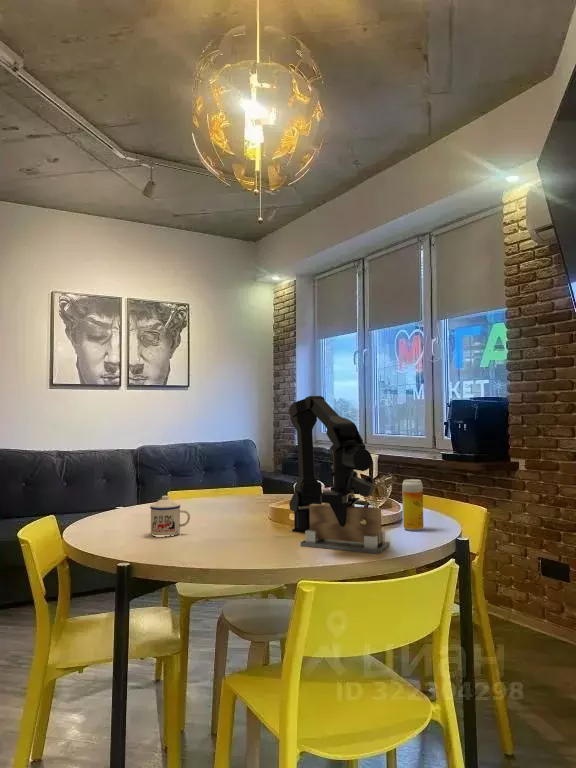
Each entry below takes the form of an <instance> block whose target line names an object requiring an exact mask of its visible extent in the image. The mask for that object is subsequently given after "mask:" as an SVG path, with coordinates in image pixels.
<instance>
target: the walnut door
mask: <svg viewBox="0 0 576 768" xmlns="http://www.w3.org/2000/svg"><path fill="white" fill-rule="evenodd" d="M309 511H310V530H318V538H319V539H329V540H340V541H350V542H360V543H364V536H365V535H378V544H380V543H382V532H381V531H382V508H381V507H366V506H354V505H353V506H348V507H347V511H346V520H345V526H344V527H342V526H340V524H339V522H338V520H337V518H336V516H335V514H334V512H333V510H332V508H331V506H330V504H325V503H322V504H311V505H309Z"/></svg>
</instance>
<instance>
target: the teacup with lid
mask: <svg viewBox="0 0 576 768" xmlns="http://www.w3.org/2000/svg"><path fill="white" fill-rule="evenodd" d="M180 508H181V504H180V503H179V502H177V501H174V500H173V499H170V497H169V496H168V495H162V496H161V499H159V500H157V501H156V502H154V503H151V504H150V507H149V509H150V535H151V534H153V535H177V534H179V533H181V528H182V527H186V526H187V525H188V524H189V523H190V520H191V514H190V512H189V511H188V510H186V509H180ZM181 513H184V514H186V515H187V520H186V521H185V522H184V523H181ZM179 535H180V534H179ZM177 536H178V535H177Z"/></svg>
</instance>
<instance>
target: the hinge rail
mask: <svg viewBox="0 0 576 768" xmlns="http://www.w3.org/2000/svg"><path fill="white" fill-rule="evenodd" d="M381 532H382V543H380V544H378V535H365V536H364V543H360V542H350V541H340V540H329V539H319V538H318V530H309V529H308V530H306V531H305V532H304V533H305V536H304V537H305V540H302V541H300V546H301V547H308V548H318V549H324V550H325V549H326V550H327V549H328V550H338V551H347V552H357V553H368V554H380V553H381V552H382V551H384V550H385V549H387V548H388V547H390V542H391V541H386V537H385V536H386V535H385V534H386V533H385V532H386V531H385V530H381Z"/></svg>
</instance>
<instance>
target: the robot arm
mask: <svg viewBox="0 0 576 768" xmlns="http://www.w3.org/2000/svg"><path fill="white" fill-rule="evenodd" d="M288 413H289V417H290V422H291V424H292V426H293V428H294V429H295V431H296V440H297V441H296V443H297V458H298V459H297V460H298V461H297V462H298V479H297V481H296V482H295V484H294V487H293V488H294V489H293V490H294V493H293V495H292V497H291V499H290V501H289V502H288V504H289V510H290V511H292V512H294V513H293V515H294V516H293V517H294V520H293V521H294V528H291V531H293V532H294V531H295V532H303V533H305V531H306V530H308V529H309V530H310V511H309V505H311V504H327V505H330V506H331V508H332V510H333V512H334V514H335V516H336V518H337V520H338V522H339V524H340V526H342V527H344V526H345V520H346V511H347V507H348V506H354V505H355V504H356V503H357V502H358V501H359V500H360V499H361V498H360V497H365V498H368V497H372V496H373V495H374V491H375V490H376V489H377V487H376V485H377V484H376V483H375V478H374V477H372V476H367V477H366V478H365V479H364V478H363V477H362V478H361V477H358V472H357V471H360V472H366V471H367V470H368V469H371V468H370V467H371V466H372V464H373V457H372V455H371V452H370V451H369V450H367V449H366V444H364V440H363V437H362V436H361V433H360V432H359V430H358V427H357V425H356V424H355V423H354V421H352V420H350V419H349V418H346V417H342V416H341V415H339V414H338V412H336V411H335V410H334V409H333V408H332V407H331V406H330V405H329V404H328V402H326V399H325V397H324V396H322V395H309V396H306V397H305V398H303V399H301V400H297V401H294V402H293V403H292V404H291V405H290V406H289V409H288ZM318 420H319V421H320V422H321V424H323V426H325V429H326V435H327V437H328V439H329V441H330V442H331V443H332V445H331V446H330V447H329V451H332V471H330V476H331V477H332V483H333V484H332V485H333V486H331V487H330V490H325V491H322V489H323V487H322V486H323V484H322V482H321V481H318V479H317V478H316V475H315V474H316V473H315V455H314V454H315V453H314V438H313V429H314V428H315V425H317V424H316V423H317V421H318ZM356 495H360V497H356Z"/></svg>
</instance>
